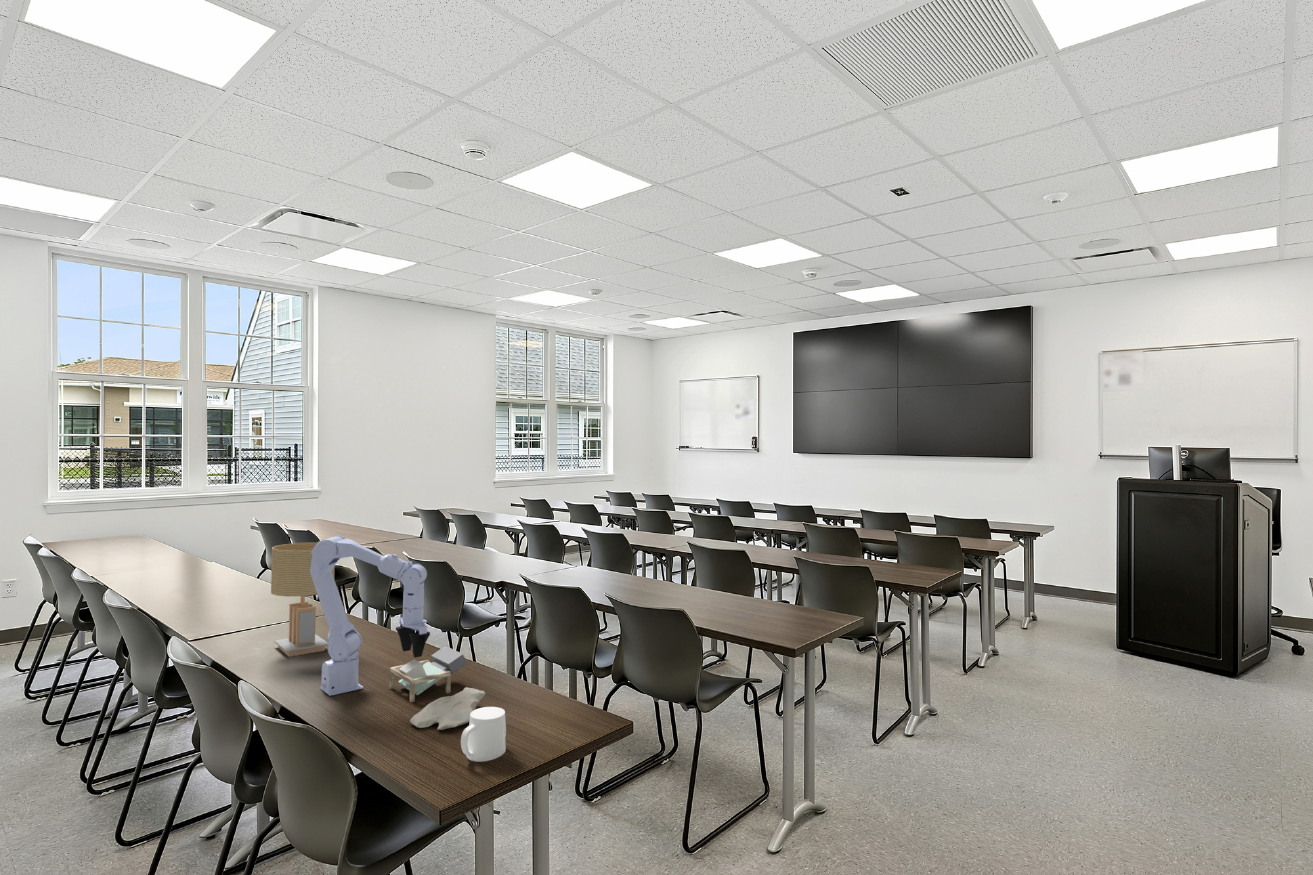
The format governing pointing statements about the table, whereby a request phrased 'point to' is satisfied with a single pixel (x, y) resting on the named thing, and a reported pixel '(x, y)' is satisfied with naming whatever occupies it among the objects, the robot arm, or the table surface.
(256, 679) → the table surface
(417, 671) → the white cube
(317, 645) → the desk lamp
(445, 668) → the trapdoor
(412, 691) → the trapdoor frame
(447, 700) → the rock
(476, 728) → the mug
